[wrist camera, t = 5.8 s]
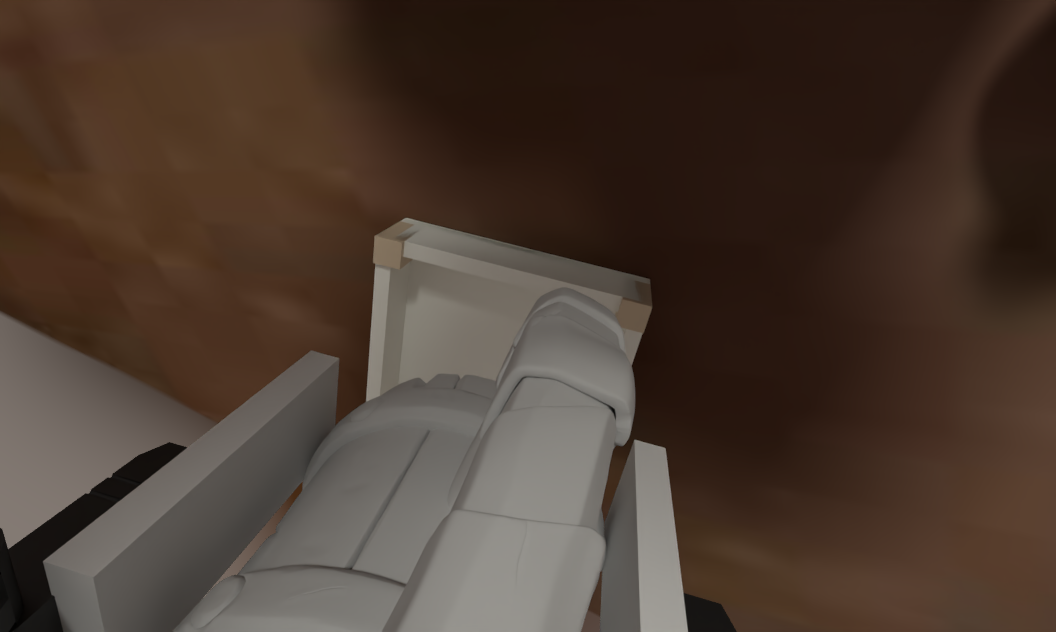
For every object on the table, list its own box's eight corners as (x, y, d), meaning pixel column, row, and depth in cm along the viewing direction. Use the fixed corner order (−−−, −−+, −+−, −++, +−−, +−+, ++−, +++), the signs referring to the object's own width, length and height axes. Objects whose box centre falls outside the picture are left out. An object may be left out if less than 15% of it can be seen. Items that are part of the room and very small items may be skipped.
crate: (406, 217, 28) (374, 235, 25) (650, 279, 27) (652, 306, 24) (383, 460, 36) (357, 500, 32) (572, 516, 35) (566, 563, 31)
